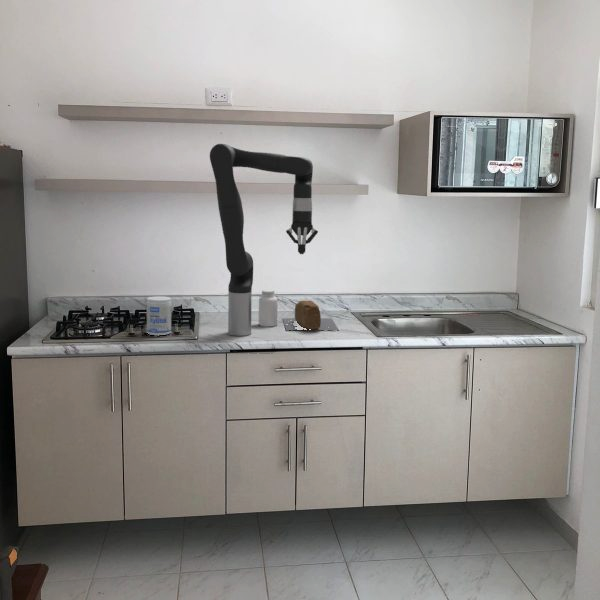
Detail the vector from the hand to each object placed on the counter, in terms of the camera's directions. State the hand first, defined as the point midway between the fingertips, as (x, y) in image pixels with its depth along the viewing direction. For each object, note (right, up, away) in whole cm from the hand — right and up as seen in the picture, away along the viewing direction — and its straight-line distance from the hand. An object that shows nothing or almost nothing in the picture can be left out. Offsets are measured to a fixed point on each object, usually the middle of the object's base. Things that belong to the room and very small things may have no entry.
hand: (301, 253), depth 292 cm
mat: (+4, -29, +27) cm, 39 cm away
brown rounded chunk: (+5, -26, +12) cm, 29 cm away
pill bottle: (-14, -29, +25) cm, 41 cm away
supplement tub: (-57, -32, +4) cm, 65 cm away
